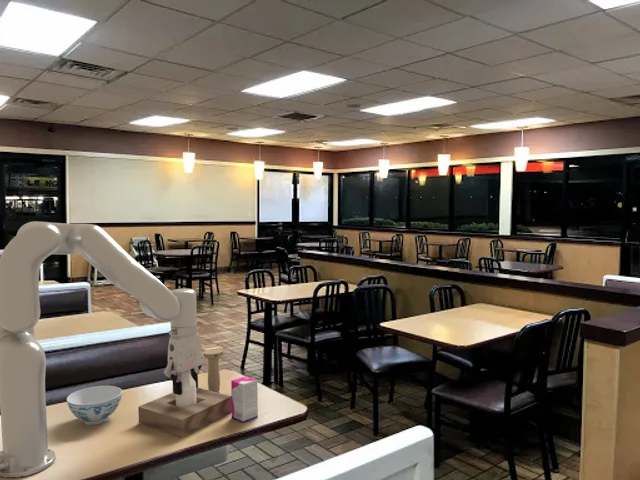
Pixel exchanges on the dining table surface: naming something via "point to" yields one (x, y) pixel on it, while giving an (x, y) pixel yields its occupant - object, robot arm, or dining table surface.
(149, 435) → the dining table surface
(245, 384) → the supplement box
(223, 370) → the dining table surface
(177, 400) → the white rounded piece
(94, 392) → the chinaware
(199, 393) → the well block
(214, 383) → the handle
